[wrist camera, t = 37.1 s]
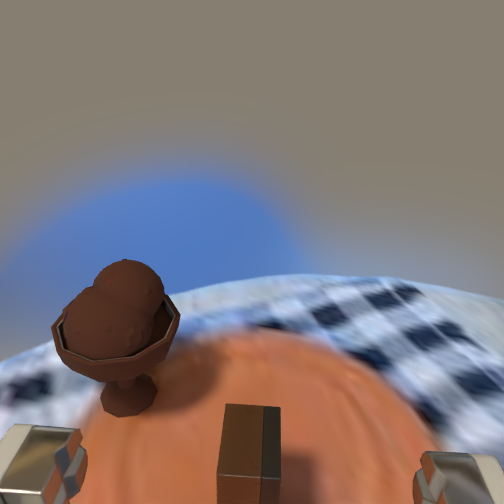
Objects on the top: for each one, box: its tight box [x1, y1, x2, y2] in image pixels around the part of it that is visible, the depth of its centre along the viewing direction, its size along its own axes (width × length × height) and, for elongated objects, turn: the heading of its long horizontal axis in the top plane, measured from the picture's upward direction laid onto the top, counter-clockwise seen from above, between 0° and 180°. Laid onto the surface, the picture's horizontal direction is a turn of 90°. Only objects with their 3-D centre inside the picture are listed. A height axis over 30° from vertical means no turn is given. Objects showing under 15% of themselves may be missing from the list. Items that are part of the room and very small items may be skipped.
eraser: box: [217, 404, 281, 504], centre depth 31 cm, size 4×6×9 cm
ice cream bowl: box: [51, 259, 180, 417], centre depth 39 cm, size 11×11×15 cm
